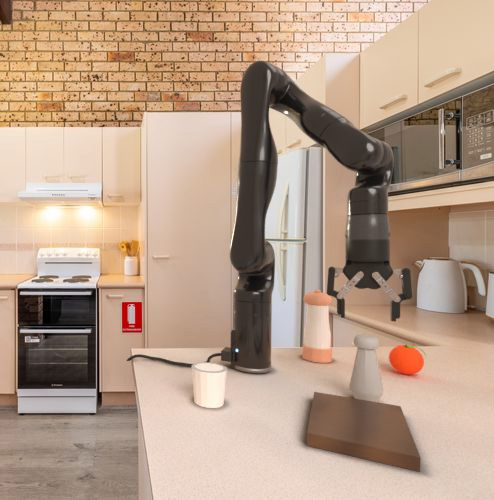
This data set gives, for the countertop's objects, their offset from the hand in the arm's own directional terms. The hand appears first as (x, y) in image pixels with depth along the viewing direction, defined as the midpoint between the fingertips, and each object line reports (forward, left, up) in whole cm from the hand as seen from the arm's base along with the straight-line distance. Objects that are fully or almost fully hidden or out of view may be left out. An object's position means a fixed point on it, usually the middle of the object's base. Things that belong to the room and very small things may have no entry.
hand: (367, 319), depth 78 cm
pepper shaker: (-10, +28, -17) cm, 34 cm away
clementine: (+10, +25, -17) cm, 31 cm away
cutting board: (-2, -16, -16) cm, 23 cm away
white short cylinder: (-27, -17, -17) cm, 36 cm away
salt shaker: (0, 0, -17) cm, 17 cm away
